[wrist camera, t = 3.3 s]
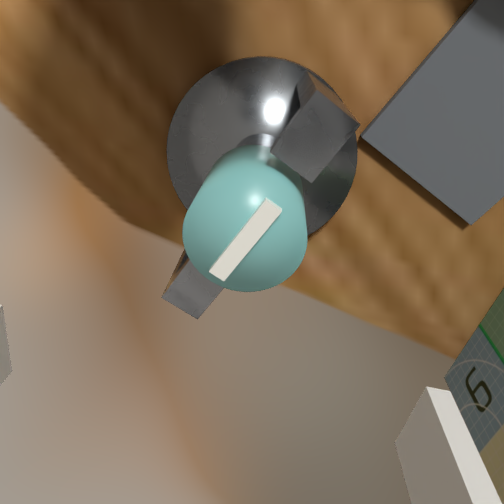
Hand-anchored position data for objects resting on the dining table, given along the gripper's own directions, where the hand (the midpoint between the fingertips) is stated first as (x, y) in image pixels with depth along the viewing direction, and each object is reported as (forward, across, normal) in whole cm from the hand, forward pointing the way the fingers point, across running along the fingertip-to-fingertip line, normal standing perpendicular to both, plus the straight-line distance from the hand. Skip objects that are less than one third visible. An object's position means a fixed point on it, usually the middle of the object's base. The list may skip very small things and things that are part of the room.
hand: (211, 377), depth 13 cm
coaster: (+26, +17, +7) cm, 31 cm away
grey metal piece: (+26, 0, 0) cm, 26 cm away
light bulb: (+17, 0, 0) cm, 17 cm away
